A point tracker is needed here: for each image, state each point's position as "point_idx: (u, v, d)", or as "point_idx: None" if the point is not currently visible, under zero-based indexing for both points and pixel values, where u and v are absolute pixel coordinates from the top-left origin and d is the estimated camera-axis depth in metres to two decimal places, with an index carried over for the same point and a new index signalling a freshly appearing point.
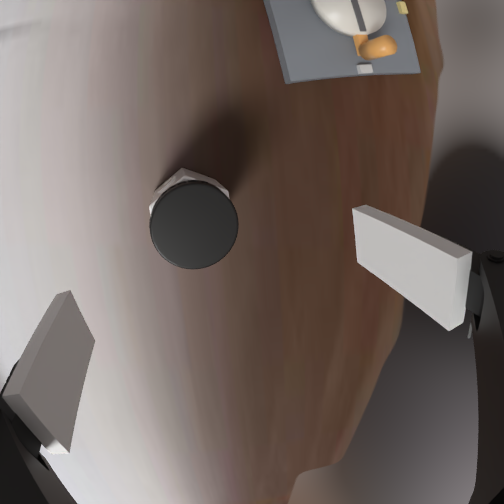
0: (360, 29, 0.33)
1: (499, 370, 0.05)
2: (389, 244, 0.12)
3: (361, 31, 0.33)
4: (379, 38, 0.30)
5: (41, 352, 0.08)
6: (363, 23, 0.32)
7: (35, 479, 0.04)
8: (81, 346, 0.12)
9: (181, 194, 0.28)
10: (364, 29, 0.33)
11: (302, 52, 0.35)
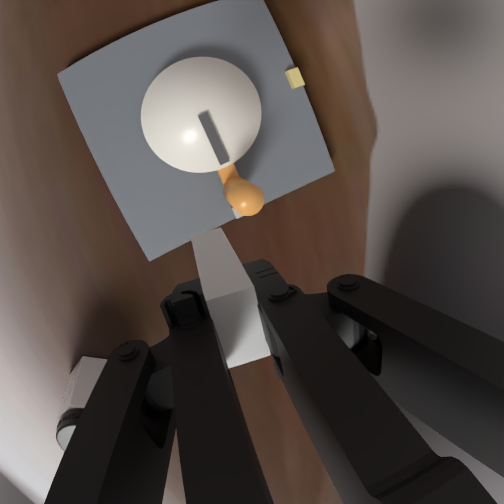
0: (219, 162, 0.29)
1: (322, 427, 0.05)
2: None
3: (222, 164, 0.29)
4: (232, 195, 0.26)
5: None
6: (222, 150, 0.28)
7: (234, 401, 0.06)
8: None
9: (68, 430, 0.26)
10: (225, 160, 0.29)
11: (153, 219, 0.31)
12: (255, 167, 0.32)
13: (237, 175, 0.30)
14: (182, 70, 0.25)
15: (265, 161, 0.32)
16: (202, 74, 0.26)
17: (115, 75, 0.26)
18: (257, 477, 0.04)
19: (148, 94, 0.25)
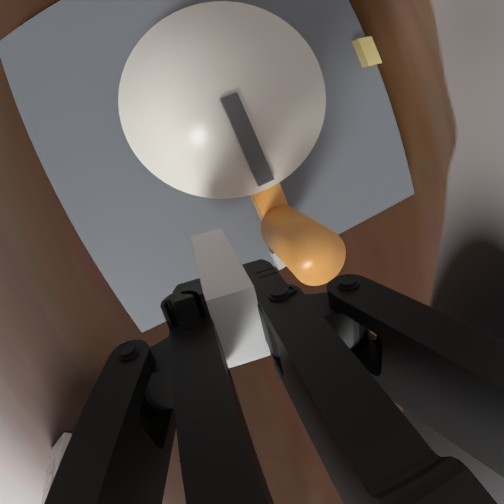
0: (257, 181, 0.17)
1: (321, 426, 0.05)
2: None
3: (261, 184, 0.17)
4: (291, 249, 0.14)
5: None
6: (263, 160, 0.16)
7: (234, 401, 0.06)
8: None
9: None
10: (267, 177, 0.17)
11: (144, 271, 0.19)
12: (308, 187, 0.20)
13: (285, 202, 0.18)
14: (193, 21, 0.13)
15: (323, 178, 0.20)
16: (228, 29, 0.14)
17: (81, 36, 0.13)
18: (257, 477, 0.04)
19: (133, 60, 0.13)
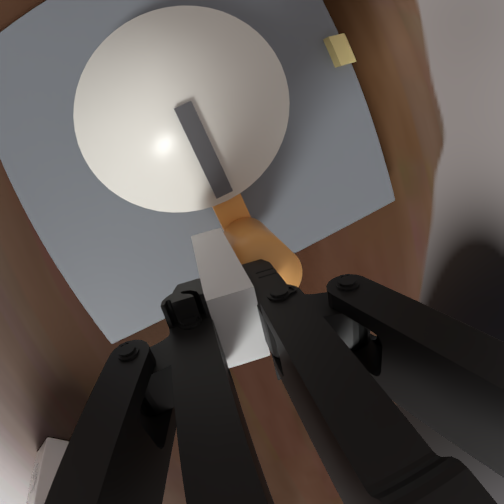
0: (215, 193, 0.16)
1: (321, 427, 0.05)
2: None
3: (219, 196, 0.16)
4: None
5: None
6: (220, 171, 0.16)
7: (234, 401, 0.06)
8: None
9: None
10: (225, 189, 0.16)
11: (110, 284, 0.19)
12: (275, 196, 0.19)
13: (247, 214, 0.17)
14: (147, 29, 0.13)
15: (292, 186, 0.19)
16: (182, 34, 0.13)
17: (44, 50, 0.13)
18: (257, 477, 0.04)
19: (87, 74, 0.13)
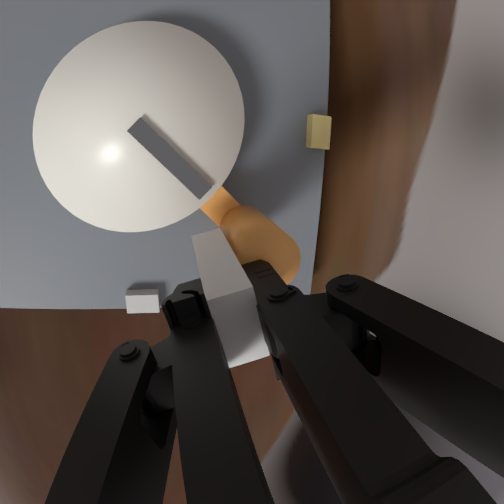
0: (196, 195, 0.16)
1: (321, 427, 0.05)
2: None
3: (202, 196, 0.16)
4: None
5: None
6: (193, 172, 0.15)
7: (235, 401, 0.06)
8: None
9: None
10: (204, 187, 0.16)
11: (15, 255, 0.16)
12: (187, 247, 0.19)
13: (236, 204, 0.17)
14: (74, 67, 0.12)
15: None
16: (109, 58, 0.13)
17: (56, 14, 0.12)
18: (258, 477, 0.04)
19: (37, 131, 0.13)
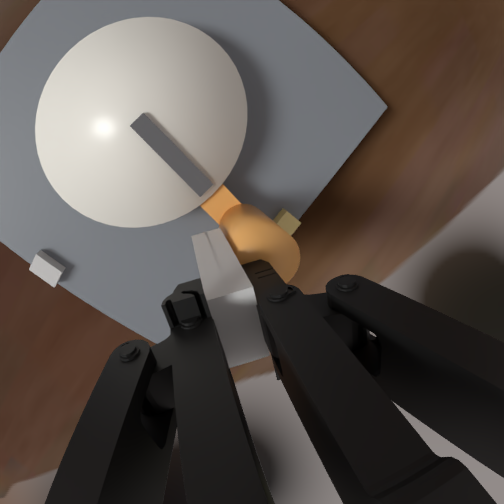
0: (197, 192, 0.16)
1: (321, 427, 0.05)
2: None
3: (202, 194, 0.16)
4: None
5: None
6: (195, 169, 0.15)
7: (235, 401, 0.06)
8: None
9: None
10: (205, 185, 0.16)
11: None
12: (110, 250, 0.18)
13: (236, 202, 0.17)
14: (79, 61, 0.12)
15: (127, 260, 0.18)
16: (114, 53, 0.13)
17: None
18: (258, 477, 0.04)
19: (40, 123, 0.13)
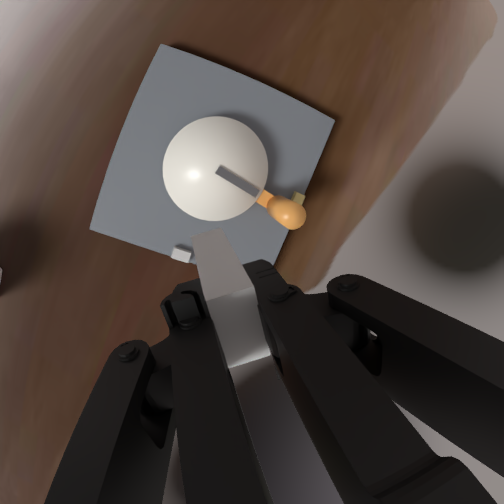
0: (253, 196, 0.34)
1: (322, 427, 0.05)
2: None
3: (255, 196, 0.34)
4: (280, 219, 0.31)
5: None
6: (250, 186, 0.34)
7: (234, 401, 0.06)
8: None
9: None
10: (256, 191, 0.34)
11: (118, 204, 0.33)
12: None
13: (271, 195, 0.35)
14: (178, 146, 0.31)
15: None
16: (195, 139, 0.31)
17: (191, 86, 0.31)
18: (257, 477, 0.04)
19: (166, 180, 0.32)
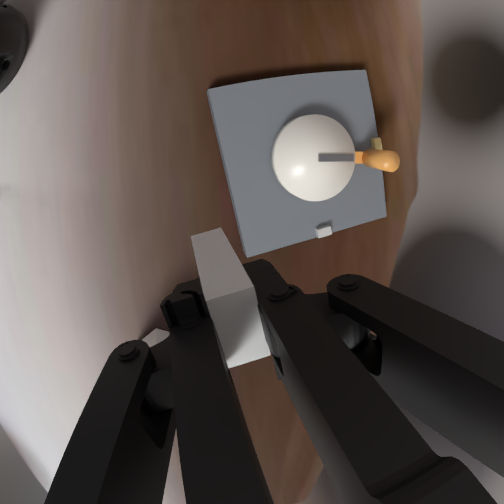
0: (351, 161, 0.40)
1: (321, 427, 0.05)
2: None
3: (353, 159, 0.40)
4: (384, 168, 0.36)
5: None
6: (346, 155, 0.39)
7: (234, 401, 0.06)
8: None
9: None
10: (352, 156, 0.39)
11: (259, 226, 0.42)
12: (337, 203, 0.44)
13: (362, 152, 0.40)
14: (283, 158, 0.38)
15: (345, 200, 0.44)
16: (291, 146, 0.37)
17: (256, 107, 0.37)
18: (257, 477, 0.04)
19: (289, 188, 0.39)
